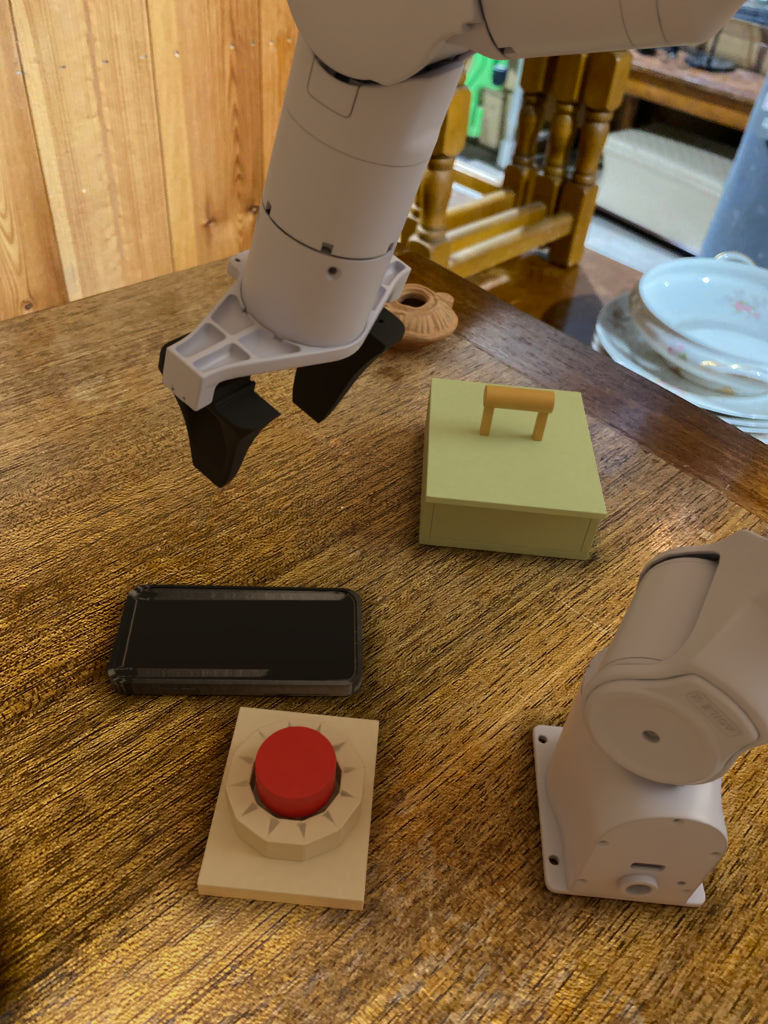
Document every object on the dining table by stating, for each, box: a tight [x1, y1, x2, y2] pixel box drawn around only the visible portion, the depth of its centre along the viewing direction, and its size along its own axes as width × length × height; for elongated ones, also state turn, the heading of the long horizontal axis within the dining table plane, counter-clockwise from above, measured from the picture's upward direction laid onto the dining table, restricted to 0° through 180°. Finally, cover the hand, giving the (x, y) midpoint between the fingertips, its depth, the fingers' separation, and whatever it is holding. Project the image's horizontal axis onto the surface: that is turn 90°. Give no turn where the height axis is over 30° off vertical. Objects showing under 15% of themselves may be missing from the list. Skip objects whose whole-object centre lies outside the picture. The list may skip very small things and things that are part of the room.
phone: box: [107, 583, 364, 697], centre depth 49 cm, size 8×1×15 cm
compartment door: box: [425, 377, 608, 521], centre depth 58 cm, size 15×12×5 cm
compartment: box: [418, 384, 601, 561], centre depth 61 cm, size 14×12×5 cm
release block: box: [196, 706, 380, 912], centre depth 41 cm, size 10×8×3 cm
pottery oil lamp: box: [384, 283, 459, 351], centre depth 77 cm, size 9×12×7 cm
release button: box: [255, 726, 336, 818], centre depth 39 cm, size 4×4×2 cm
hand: (262, 440), depth 41 cm, fingers open, 7 cm apart
